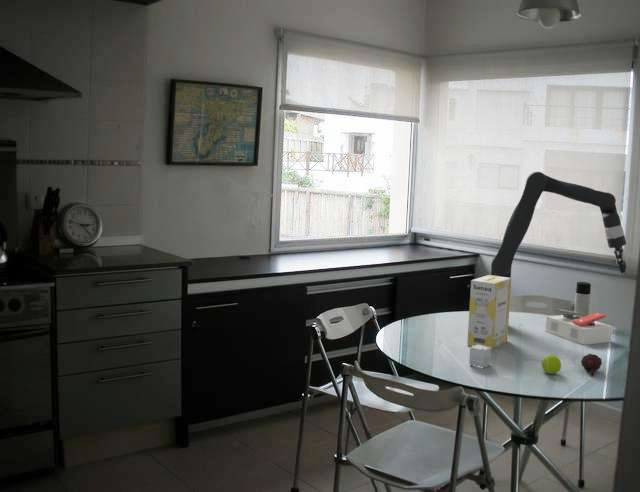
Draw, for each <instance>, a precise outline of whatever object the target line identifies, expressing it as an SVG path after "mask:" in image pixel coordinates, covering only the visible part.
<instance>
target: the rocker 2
mask: <svg viewBox="0 0 640 492" xmlns="http://www.w3.org/2000/svg"><path fill="white" fill-rule="evenodd" d="M604 318H606V314H604V313H600V312H597V311H596V312H594V313H589V314H588V316H585V317H582V318H579V319H576V320H573V323H574V324H577V325H580V326H582V325H585V324H588V323H591V322H594V321H599V320H602V319H604Z"/></svg>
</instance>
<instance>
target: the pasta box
mask: <svg viewBox="0 0 640 492" xmlns="http://www.w3.org/2000/svg"><path fill="white" fill-rule="evenodd" d="M511 288H512V277H511V278H508V277H501V276H493V275H491V274H487V275H485V276H484V275H483V276H481V277H477V278H474V279H471V280H470V292H469V293H470V295H469V296H470V297H469V309H468V310H469V311H468V312H469V313H468V329H467V342H466V343H467V344H468V345H467V344H466V345H467V346H469V345H473V346H475V345H477V344H478V345H482V346H487V347H491V350H493V349H494V348H497V347H498V346H500V345H502V344H504V343H506V342H508V336H509V334H508V333H509V323H510V322H509V320H510V319H509V318H510V307H511V305H510V304H511ZM473 346H472V347H473Z"/></svg>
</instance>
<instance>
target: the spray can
mask: <svg viewBox="0 0 640 492" xmlns="http://www.w3.org/2000/svg"><path fill="white" fill-rule="evenodd" d="M591 287H592V285H591V283H590V282H586V281H578V282H576V288H575V298H574V307H573V308H574V309H573V310H574V311H573V312H578V313H581V314H584V315H585V316H588V315H590V313H589V311H590V301H591ZM585 316H584V317H585Z"/></svg>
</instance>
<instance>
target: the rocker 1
mask: <svg viewBox="0 0 640 492" xmlns="http://www.w3.org/2000/svg"><path fill="white" fill-rule="evenodd" d="M553 311H554V312H557V313H560V314H568V315H572V316H574V315H575V316H580V317H584V316H585V315H584V314H581V313H578V312H574V311H573V310H572V311H571V310H566V309H561V308H556V307H554V308H553Z"/></svg>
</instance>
